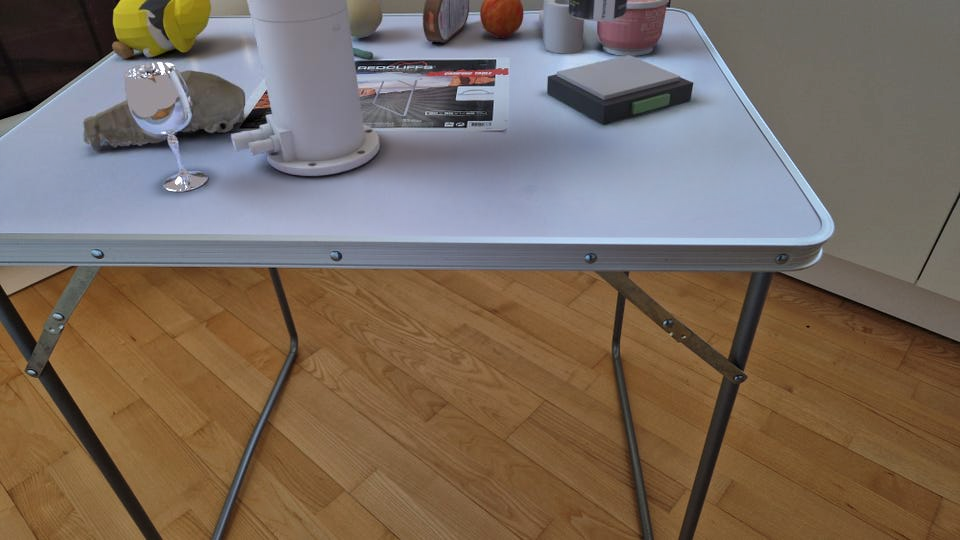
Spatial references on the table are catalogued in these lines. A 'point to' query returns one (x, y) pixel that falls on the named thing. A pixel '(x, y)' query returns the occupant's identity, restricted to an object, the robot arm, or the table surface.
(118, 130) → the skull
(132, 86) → the wineglass
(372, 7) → the potato
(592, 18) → the pill bottle
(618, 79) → the scale
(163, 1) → the toy
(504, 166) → the table surface
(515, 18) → the fruit
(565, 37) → the grey hollow cylinder
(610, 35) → the container
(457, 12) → the tin
